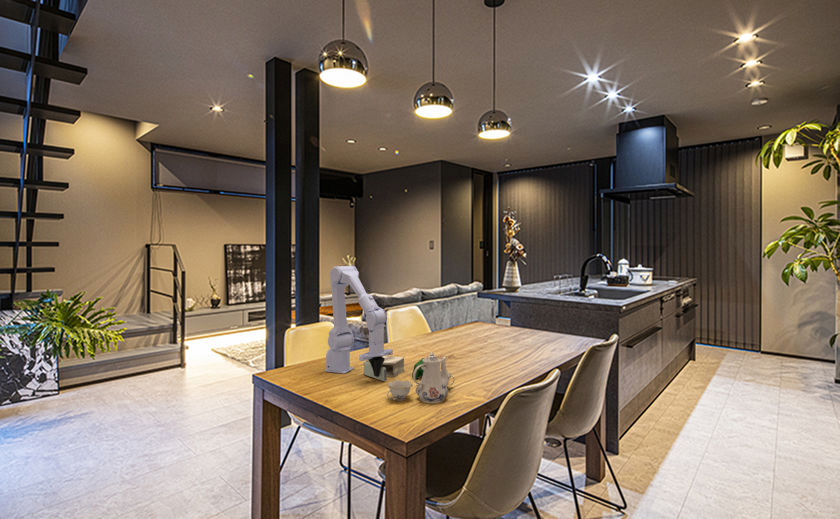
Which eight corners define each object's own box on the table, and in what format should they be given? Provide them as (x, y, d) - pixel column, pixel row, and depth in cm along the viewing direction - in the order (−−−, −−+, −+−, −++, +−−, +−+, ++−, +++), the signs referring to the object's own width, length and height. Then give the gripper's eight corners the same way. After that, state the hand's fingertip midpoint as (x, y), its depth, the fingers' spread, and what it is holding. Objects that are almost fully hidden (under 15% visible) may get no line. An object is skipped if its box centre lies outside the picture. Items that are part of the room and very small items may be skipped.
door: (363, 373, 167) (363, 361, 167) (364, 373, 168) (364, 361, 168) (384, 381, 157) (384, 368, 157) (386, 381, 158) (386, 368, 158)
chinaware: (439, 386, 157) (436, 342, 158) (472, 393, 145) (468, 345, 146) (380, 405, 139) (377, 355, 139) (412, 414, 126) (409, 360, 127)
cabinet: (365, 374, 168) (365, 360, 168) (375, 367, 177) (375, 354, 177) (394, 377, 164) (394, 363, 163) (404, 370, 173) (404, 357, 173)
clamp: (424, 390, 162) (427, 372, 157) (410, 385, 163) (412, 367, 159) (435, 371, 172) (437, 354, 167) (421, 366, 173) (424, 349, 169)
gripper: (366, 345, 151) (366, 382, 151) (397, 339, 161) (397, 374, 161) (356, 342, 156) (356, 378, 156) (386, 337, 166) (386, 370, 166)
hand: (376, 376), depth 159 cm, fingers closed
